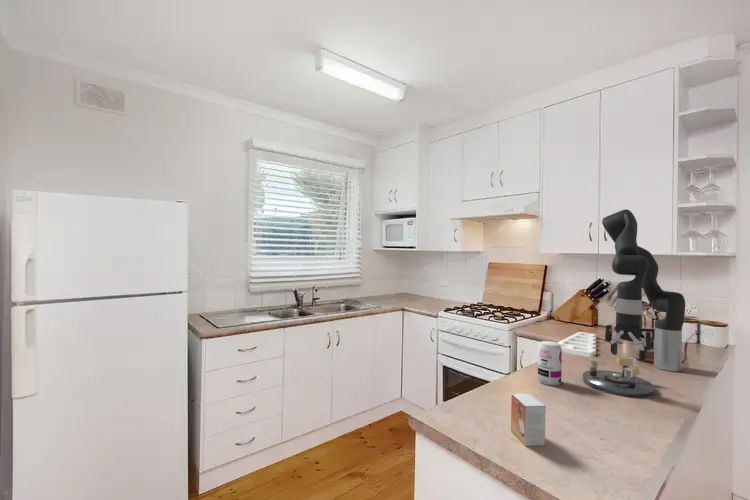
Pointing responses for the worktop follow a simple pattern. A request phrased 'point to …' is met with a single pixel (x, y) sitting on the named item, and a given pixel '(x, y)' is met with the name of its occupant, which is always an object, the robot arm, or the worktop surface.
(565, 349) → the holder
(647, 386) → the base
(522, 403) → the small box
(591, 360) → the knob
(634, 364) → the knob near
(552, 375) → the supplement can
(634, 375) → the knob
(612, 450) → the worktop surface
